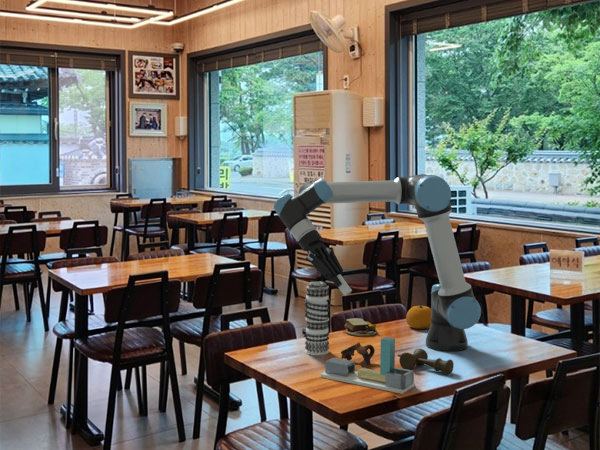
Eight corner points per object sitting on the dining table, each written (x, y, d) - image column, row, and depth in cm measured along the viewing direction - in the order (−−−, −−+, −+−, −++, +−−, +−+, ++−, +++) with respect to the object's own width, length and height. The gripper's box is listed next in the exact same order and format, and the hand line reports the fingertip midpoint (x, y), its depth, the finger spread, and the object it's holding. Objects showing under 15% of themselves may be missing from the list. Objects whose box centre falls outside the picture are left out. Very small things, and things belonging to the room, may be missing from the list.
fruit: (438, 325, 305) (438, 301, 304) (431, 332, 294) (431, 307, 293) (410, 323, 309) (410, 299, 308) (402, 329, 299) (402, 304, 298)
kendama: (443, 380, 235) (389, 366, 248) (457, 373, 243) (404, 361, 255) (444, 361, 235) (390, 349, 247) (458, 355, 242) (405, 343, 255)
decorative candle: (316, 347, 271) (317, 279, 269) (335, 352, 265) (335, 282, 262) (298, 351, 265) (299, 282, 262) (317, 357, 258) (317, 286, 256)
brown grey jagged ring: (357, 372, 243) (345, 349, 244) (344, 377, 251) (333, 355, 252) (384, 357, 249) (373, 335, 251) (371, 363, 257) (360, 341, 259)
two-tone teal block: (357, 377, 232) (357, 335, 230) (362, 374, 234) (362, 333, 233) (397, 385, 224) (398, 342, 222) (402, 382, 226) (403, 339, 225)
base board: (320, 377, 236) (320, 373, 236) (335, 370, 243) (335, 367, 243) (401, 393, 220) (401, 390, 220) (415, 385, 227) (415, 382, 227)
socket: (385, 385, 224) (385, 373, 224) (395, 380, 230) (396, 367, 229) (403, 389, 221) (403, 376, 220) (413, 383, 226) (413, 370, 226)
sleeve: (325, 372, 237) (325, 361, 237) (333, 368, 241) (333, 357, 241) (346, 377, 233) (347, 365, 232) (354, 373, 237) (355, 361, 236)
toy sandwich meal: (351, 338, 285) (352, 326, 284) (340, 330, 298) (340, 318, 297) (382, 336, 288) (382, 324, 288) (369, 328, 301) (369, 316, 301)
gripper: (311, 239, 253) (352, 295, 246) (288, 245, 243) (329, 304, 236) (324, 225, 249) (366, 282, 242) (301, 232, 239) (343, 291, 232)
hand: (348, 293), depth 239 cm, fingers closed
